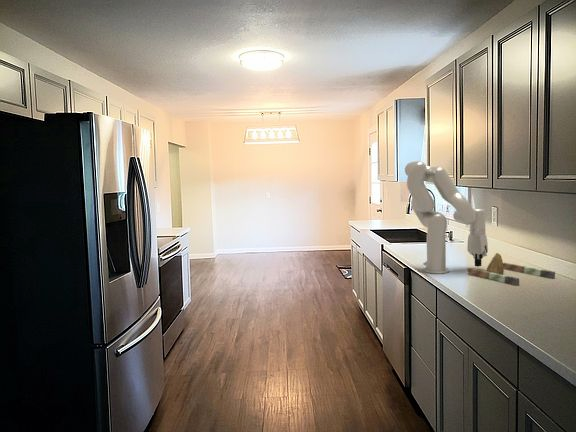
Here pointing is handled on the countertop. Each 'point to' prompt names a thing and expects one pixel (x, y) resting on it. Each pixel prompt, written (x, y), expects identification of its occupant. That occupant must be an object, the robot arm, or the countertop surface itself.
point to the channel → (507, 278)
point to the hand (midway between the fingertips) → (478, 266)
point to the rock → (496, 265)
